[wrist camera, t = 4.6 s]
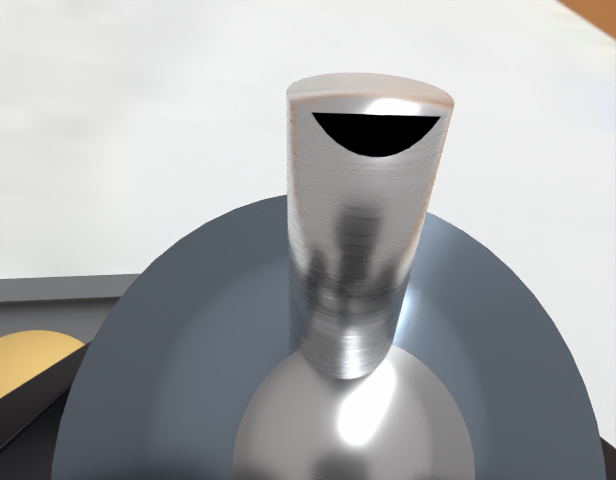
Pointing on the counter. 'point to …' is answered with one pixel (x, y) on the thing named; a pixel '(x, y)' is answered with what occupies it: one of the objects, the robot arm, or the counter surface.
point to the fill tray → (51, 320)
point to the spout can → (333, 329)
